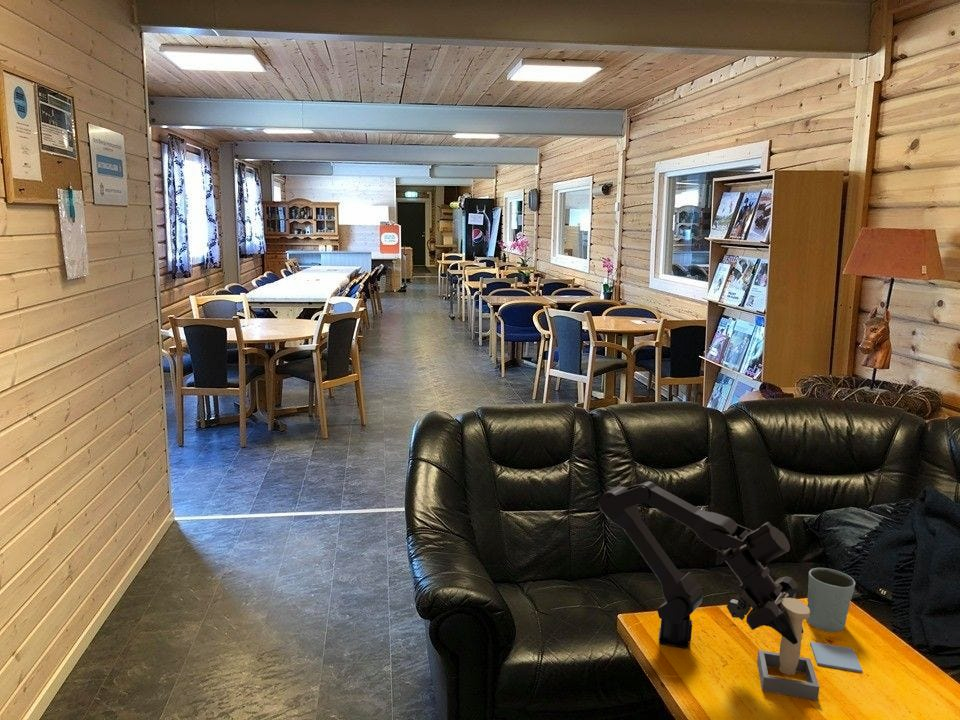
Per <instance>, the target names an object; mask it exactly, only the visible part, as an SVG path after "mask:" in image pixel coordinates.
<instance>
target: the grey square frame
mask: <svg viewBox="0 0 960 720" xmlns="http://www.w3.org/2000/svg"><path fill="white" fill-rule="evenodd" d="M779 654H780V652H774V651H773V652H772V651H768V650H762V649H758V651H757V659H756V660H757V662H756V663H757V668H758V673H759V680H760V685H761V689H762V692H769V693H774V694H780V695H786V696H791V697H794V698H795V697H796V698H802V699H806V700H812V701H818V700H819V695H820V694H819V693H820V684H819V682H818V678H817V675H816V672H815V669H814V667H813V663H812V660H811V658H810V657H809V658H808V657H801V656H800V657H799V661H798V665H797V667H796V671H795V673H801V674H804V675H805V680H806V681H802V680H797V679H792V678H791V679H790V678H785V677H780V676H774V675H769V672H768V668H772V669H778V670H780V660H779Z"/></svg>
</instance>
